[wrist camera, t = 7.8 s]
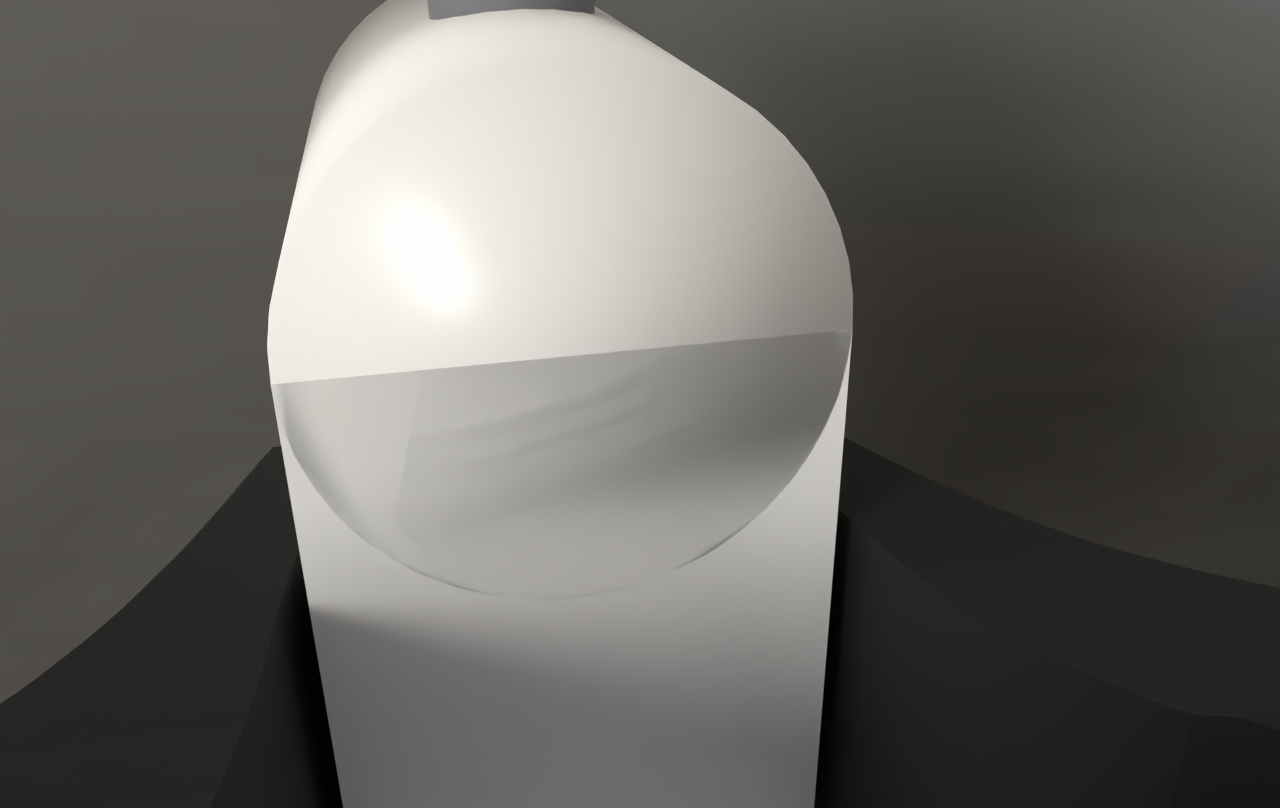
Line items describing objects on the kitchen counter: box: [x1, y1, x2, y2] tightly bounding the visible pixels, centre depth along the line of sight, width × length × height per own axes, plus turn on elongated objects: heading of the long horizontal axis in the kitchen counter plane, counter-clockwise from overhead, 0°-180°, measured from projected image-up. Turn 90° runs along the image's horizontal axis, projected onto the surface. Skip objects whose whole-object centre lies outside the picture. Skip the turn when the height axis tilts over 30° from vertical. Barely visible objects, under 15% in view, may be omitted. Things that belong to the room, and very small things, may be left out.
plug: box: [267, 0, 853, 808], centre depth 10 cm, size 13×4×5 cm, turn 1°
